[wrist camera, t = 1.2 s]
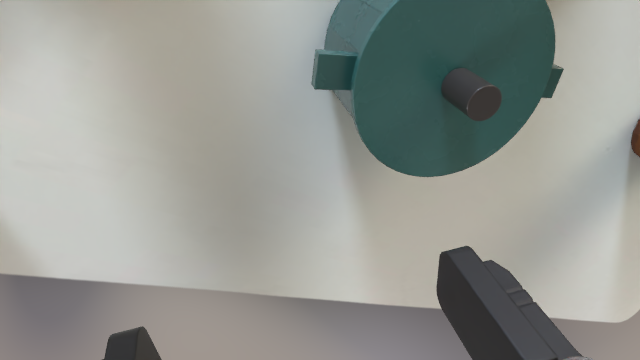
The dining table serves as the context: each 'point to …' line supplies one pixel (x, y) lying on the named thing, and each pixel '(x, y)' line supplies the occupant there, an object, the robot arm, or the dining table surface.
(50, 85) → the dining table surface
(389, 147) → the pot lid
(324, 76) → the pot
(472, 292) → the robot arm
